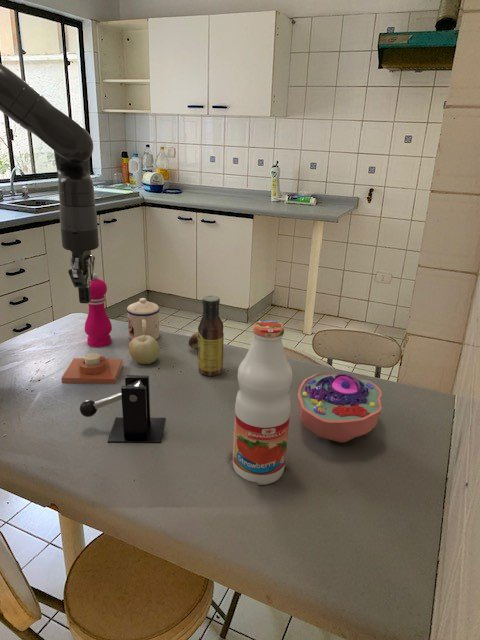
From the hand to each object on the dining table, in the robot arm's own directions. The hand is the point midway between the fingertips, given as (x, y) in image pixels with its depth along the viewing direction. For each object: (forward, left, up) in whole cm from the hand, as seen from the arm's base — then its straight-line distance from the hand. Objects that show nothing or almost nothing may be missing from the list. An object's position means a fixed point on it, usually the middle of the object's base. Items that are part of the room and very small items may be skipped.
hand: (85, 302), depth 105 cm
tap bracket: (+15, -24, -19) cm, 34 cm away
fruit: (+12, +7, -19) cm, 23 cm away
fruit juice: (+38, -34, -19) cm, 54 cm away
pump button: (+1, -1, -15) cm, 15 cm away
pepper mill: (-2, +18, -19) cm, 26 cm away
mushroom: (+27, +14, -19) cm, 36 cm away
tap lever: (+11, -24, -12) cm, 29 cm away
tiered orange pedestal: (+1, -1, -19) cm, 19 cm away
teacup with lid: (+10, +21, -19) cm, 30 cm away
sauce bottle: (+29, +2, -19) cm, 34 cm away
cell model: (+55, -22, -19) cm, 62 cm away
